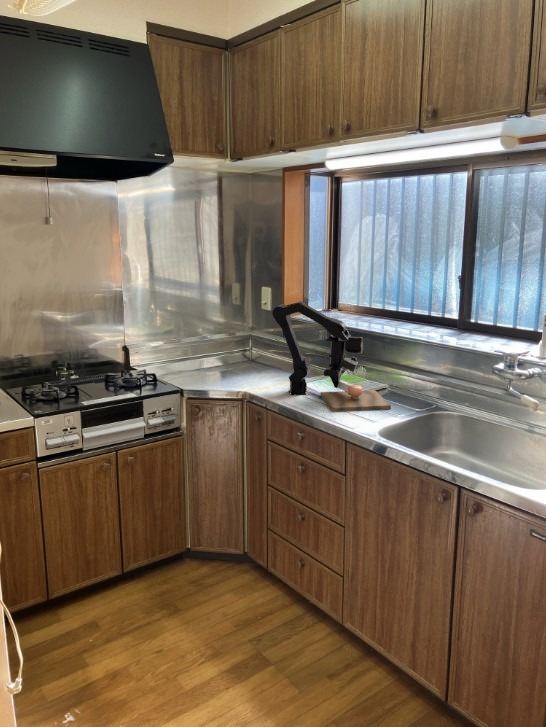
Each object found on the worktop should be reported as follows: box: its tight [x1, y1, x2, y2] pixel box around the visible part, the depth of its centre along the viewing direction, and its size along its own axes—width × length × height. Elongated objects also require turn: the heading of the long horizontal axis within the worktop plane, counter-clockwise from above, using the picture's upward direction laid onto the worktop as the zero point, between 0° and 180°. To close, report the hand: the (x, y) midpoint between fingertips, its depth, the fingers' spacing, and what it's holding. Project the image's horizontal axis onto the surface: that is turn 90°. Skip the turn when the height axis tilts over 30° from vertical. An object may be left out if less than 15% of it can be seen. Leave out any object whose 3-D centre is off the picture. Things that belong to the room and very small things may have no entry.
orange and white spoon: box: [338, 379, 363, 396], centre depth 250 cm, size 16×6×3 cm, turn 31°
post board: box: [320, 389, 392, 412], centre depth 247 cm, size 24×20×3 cm
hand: (336, 387), depth 252 cm, fingers closed
